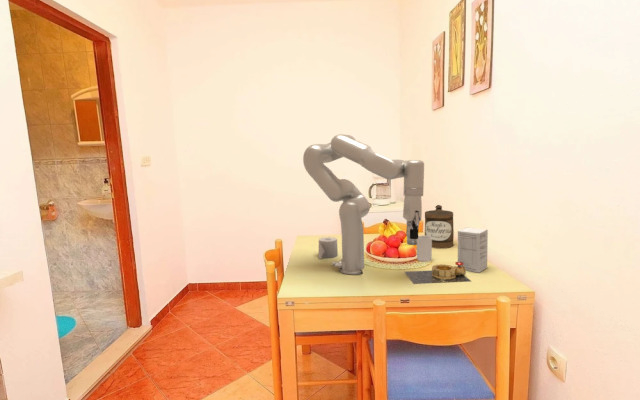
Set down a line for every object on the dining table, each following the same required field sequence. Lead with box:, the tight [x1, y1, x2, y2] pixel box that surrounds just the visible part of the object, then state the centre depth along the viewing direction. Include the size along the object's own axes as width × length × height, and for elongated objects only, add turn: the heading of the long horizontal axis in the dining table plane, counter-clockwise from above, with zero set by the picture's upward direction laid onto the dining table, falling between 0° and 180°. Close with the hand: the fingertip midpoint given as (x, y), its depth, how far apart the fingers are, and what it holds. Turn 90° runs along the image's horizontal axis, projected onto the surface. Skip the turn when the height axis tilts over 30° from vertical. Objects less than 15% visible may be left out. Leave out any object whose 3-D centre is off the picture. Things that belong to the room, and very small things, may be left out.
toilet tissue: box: [318, 236, 339, 260], centre depth 175 cm, size 9×13×9 cm
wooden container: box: [424, 204, 455, 249], centre depth 189 cm, size 15×15×22 cm
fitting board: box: [404, 261, 472, 285], centre depth 138 cm, size 22×14×7 cm, turn 91°
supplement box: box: [457, 227, 489, 274], centre depth 150 cm, size 10×9×17 cm
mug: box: [416, 235, 433, 262], centre depth 162 cm, size 10×7×12 cm, turn 161°
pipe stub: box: [406, 220, 417, 246], centre depth 139 cm, size 5×5×9 cm
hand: (412, 236), depth 140 cm, fingers closed on pipe stub, 4 cm apart
